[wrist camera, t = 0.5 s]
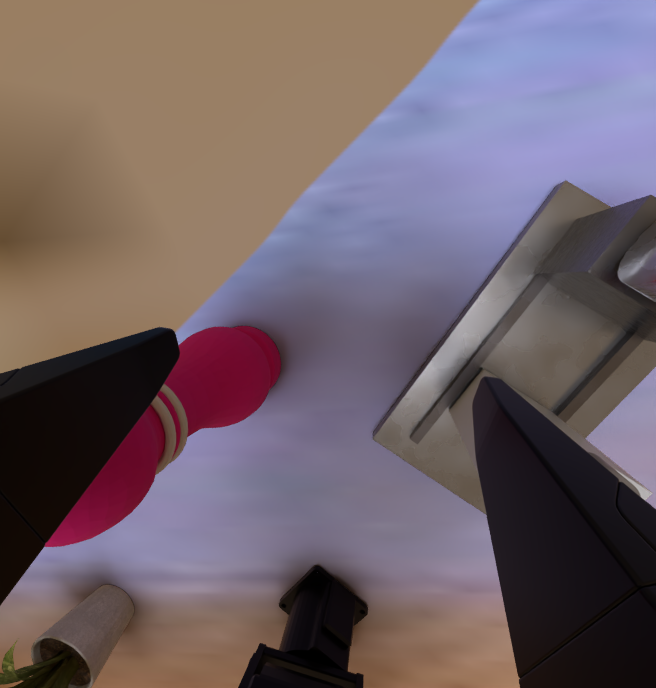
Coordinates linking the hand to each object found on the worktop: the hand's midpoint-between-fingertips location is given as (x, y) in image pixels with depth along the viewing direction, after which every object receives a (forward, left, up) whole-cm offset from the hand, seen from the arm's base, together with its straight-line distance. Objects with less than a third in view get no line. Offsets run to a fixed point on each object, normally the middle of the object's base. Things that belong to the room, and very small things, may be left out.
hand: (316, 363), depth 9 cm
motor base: (+5, -12, -17) cm, 21 cm away
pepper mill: (-10, +5, -17) cm, 20 cm away
